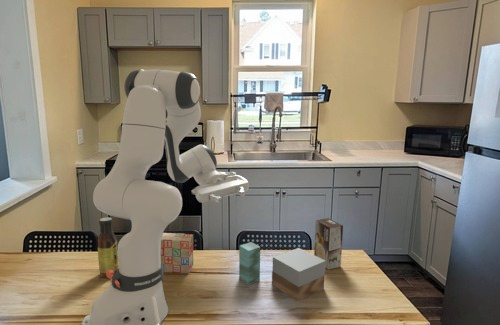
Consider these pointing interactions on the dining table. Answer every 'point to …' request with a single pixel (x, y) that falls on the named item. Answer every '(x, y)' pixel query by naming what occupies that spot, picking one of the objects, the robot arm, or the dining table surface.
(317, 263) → the tower top
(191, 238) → the stack of blocks
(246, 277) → the teal block
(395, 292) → the dining table surface
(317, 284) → the tower base
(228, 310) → the dining table surface
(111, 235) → the sauce bottle
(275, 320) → the dining table surface
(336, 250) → the coffee box
